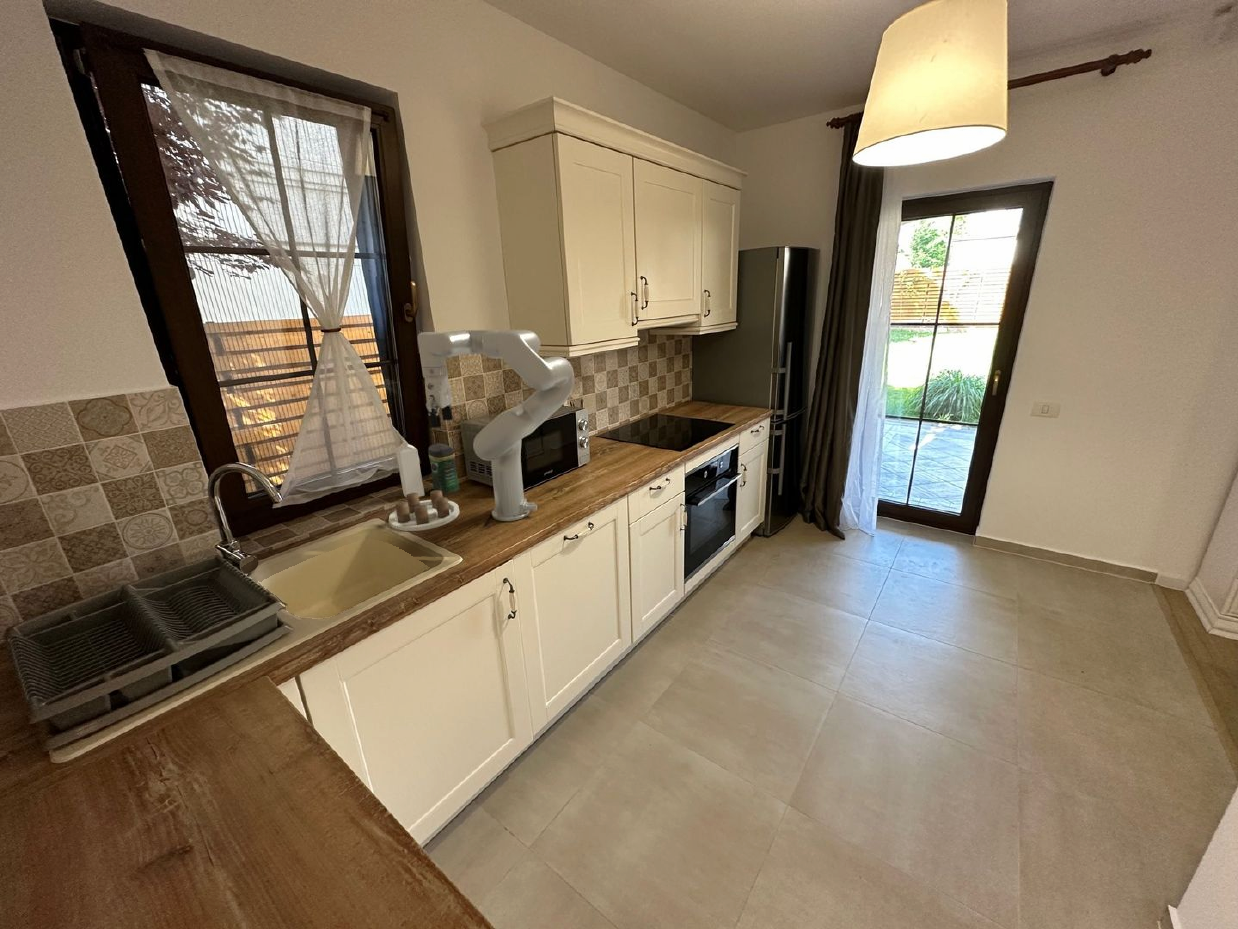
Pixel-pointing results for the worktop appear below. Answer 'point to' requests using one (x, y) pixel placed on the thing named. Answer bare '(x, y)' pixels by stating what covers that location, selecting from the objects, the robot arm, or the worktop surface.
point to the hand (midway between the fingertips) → (442, 423)
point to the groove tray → (432, 515)
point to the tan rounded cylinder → (442, 507)
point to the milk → (409, 469)
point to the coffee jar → (443, 468)
